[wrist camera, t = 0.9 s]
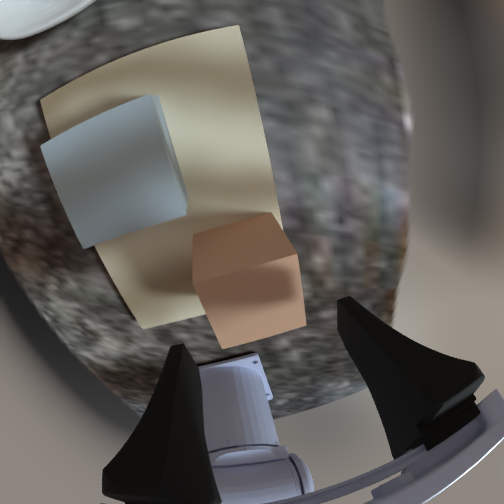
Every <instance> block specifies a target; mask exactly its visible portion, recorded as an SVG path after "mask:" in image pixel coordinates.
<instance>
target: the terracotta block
mask: <svg viewBox="0 0 504 504" xmlns="http://www.w3.org/2000/svg"><path fill="white" fill-rule="evenodd" d="M192 283H193V286H194V288H195V290H196V293H197V295H198V297H199V299H200V302H201V304H202V306H203V308H204V311H205V313H206V315H207V317H208V320H209V322H210V324H211V326H212V328H213V330H214V333H215V335H216V337H217V339H218V341H219V343H220V345H221V347H222V349H225V348H229V347H233V346H237V345H240V344H244V343H248V342H252V341H255V340H259V339H263V338H266V337H270V336H273V335H276V334H280V333H283V332H287V331H290V330H293V329H296V328H300V327H303V326H306V317H305V308H304V300H303V292H302V285H301V277H300V270H299V263H298V256H297V253H296V251H295V249H294V248H293V246H292V244H291V243H290V241H289V240H288V238H287V236H286V235H285V233H284V231H283V230H282V228H281V227H280V225H279V223H278V222H277V220H276V219H275V217H274V215H273V214H272V212H271V213H268V214H264V215H260V216H256V217H253V218H249V219H245V220H242V221H238V222H234V223H231V224H227V225H224V226H220V227H217V228H213V229H210V230H206V231H203V232H199V233H196V234H193V256H192Z"/></svg>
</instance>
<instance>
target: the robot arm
mask: <svg viewBox="0 0 504 504" xmlns="http://www.w3.org/2000/svg"><path fill="white" fill-rule="evenodd" d="M337 329H338V332H339V334H340V336H341V339H342V341H343V343H344V345H345V348H346V349H347V351H348V353H349V355H350V356H351V358H352V360H353V361H354V363H355V365H356V367H357V368H358V370H359V372H360V373H361V375H362V377H363V379H364V380H365V382H366V384H367V386H368V388H369V390H370V392H371V395H372V397H373V400H374V402H375V405H376V407H377V410H378V413H379V415H380V418H381V421H382V424H383V426H384V429H385V432H386V436H387V439H388V442H389V445H390V449H391V453H392V456H393V458H394V460H393V461H391V462H389V463H387V464H385V465H382V466H380V467H378V468H376V469H374V470H371V471H369V472H367V473H364V474H362V475H360V476H357V477H355V478H352V479H349V480H347V481H344V482H341V483H338V484H336V485H333V486H330V487H327V488H324V489H320V490H317V491H314V485H313V480H312V477H311V473H310V471H309V469H308V467H307V465H306V463H305V462H304V461H303V460H302V459H301V458H299V457H298V456H297V455H296V454H293V453H290V454H288V451H287V448H286V446H280V445H279V441H278V438H277V434H276V430H275V426H274V423H273V419H272V415H271V411H270V407H269V404H268V400H271V399H272V398H273V395H272V392H271V390H270V387H269V384H268V381H267V378H266V375H265V373H264V370H263V367H262V364H261V361H260V358H259V355H258V354H256V353H252V354H249V355H245V356H241V357H237V358H233V359H229V360H225V361H220V362H216V363H212V364H207V365H203V366H197V364H196V363H195V361H194V360H193V358H192V357H191V355H190V353H189V352H188V350H187V348H186V347H185V345H184V344H179V345H174V346H171V347H170V350H169V353H168V356H167V359H166V361H165V364H164V367H163V370H162V373H161V375H160V378H159V381H158V383H157V386H156V388H155V391H154V393H153V395H152V397H151V400H150V402H149V404H148V406H147V408H146V410H145V412H144V414H143V416H142V418H141V420H140V422H139V423H138V425H137V426H136V428H135V430H134V431H133V433H132V434H131V436H130V437H129V439H128V440H127V442H126V443H125V444H124V446H123V447H122V448H121V450H120V451H119V452H118V454H117V455H116V456H115V457H114V458H113V459H112V460H111V461H110V462H109V464H108V465H107V466H106V467H105V468H104V469H103V473H102V493H103V494H104V495H105V496H107V497H110V498H113V499H116V500H119V501H122V502H125V504H320V503H324V502H327V501H330V500H333V499H336V498H339V497H342V496H345V495H347V494H350V493H353V492H355V491H358V490H360V489H363V488H365V487H367V486H370V485H372V484H375V483H376V482H379V481H381V480H383V479H385V478H388V477H390V476H391V475H394V474H396V473H398V472H400V471H402V470H403V471H402V472H401V475H400V476H398V477H396V478H394V479H392V480H390V481H388V482H386V483H384V484H382V485H380V486H379V487H377V488H375V489H373V490H372V491H371V493H372V495H373V500H371V501H368V502H365V503H363V504H424V503H425V502H427V501H429V500H430V499H432V498H433V497H434V496H436V495H437V494H439V493H440V492H442V491H443V490H445V489H446V488H447V487H449V486H450V485H451V484H453V483H454V482H455V481H457V480H458V479H459V478H460V477H462V476H463V475H464V474H465V473H467V472H468V471H469V470H470V469H471V468H473V467H474V466H475V465H476V464H477V463H478V462H480V461H481V460H482V459H483V458H484V457H485V456H486V455H487V454H488V453H489V452H490V451H491V450H492V449H494V447H496V446H497V445H498V444H499V443H500V442H501V441H502V440H503V439H504V399H503V398H502V396H501V395H500V393H499V392H498V390H497V389H496V390H494V391H493V392H492V393H490V394H489V395H488V396H487V397H486V398H485V399H483V400H482V401H481V402H480V403H479V404H478V405H476V404H475V402H474V401H475V400H476V397H475V396H474V392H475V391H476V390H477V389H478V387H479V386H480V385H481V384H482V382H483V381H484V378H485V376H484V374H483V373H482V372H481V370H480V369H479V367H478V366H477V365H476V364H475V363H474V362H470V361H465V360H461V359H457V358H454V357H451V356H448V355H445V354H442V353H439V352H437V351H435V350H432V349H430V348H427V347H425V346H423V345H421V344H419V343H417V342H415V341H413V340H411V339H409V338H408V337H406V336H404V335H402V334H401V333H399V332H398V331H396V330H395V329H393V328H392V327H390V326H389V325H387V324H386V323H384V322H383V321H382V320H380V319H379V318H377V317H376V316H375V315H373V314H372V313H371V312H369V311H368V310H367V309H366V308H364V307H363V306H362V305H361V304H359V303H358V302H357V301H356V300H354V299H353V298H352V297H350V296H348V297H345V298H342V299H339V300H337ZM100 504H104V503H100Z"/></svg>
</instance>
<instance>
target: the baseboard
mask: <svg viewBox="0 0 504 504" xmlns="http://www.w3.org/2000/svg"><path fill="white" fill-rule="evenodd" d="M40 102H41V106H42V110H43V113H44V117H45V121H46V124H47V128H48V131H49V134H50V138H51V140H49V141H47V142H46V143H44V144H42V145H41V146H40V147H41V150H42V153H43V156H44V159H45V162H46V165H47V167H48V170H49V173H50V176H51V178H52V181H53V183H54V186H55V188H56V191H57V193H58V196H59V198H60V201H61V203H62V205H63V208H64V210H65V212H66V214H67V217H68V219H69V221H70V223H71V225H72V227H73V229H74V231H75V234H76V236H77V238H78V240H79V242H80V244H81V246H82V247H83V249H85V248H88V247H91V246H95V248H96V250H97V252H98V254H99V256H100V258H101V260H102V261H103V263H104V265H105V267H106V269H107V271H108V273H109V274H110V276H111V278H112V280H113V281H114V283H115V285H116V287H117V288H118V290H119V292H120V294H121V295H122V297H123V299H124V300H125V302H126V304H127V305H128V307H129V308H130V310H131V312H132V313H133V315H134V316H135V318H136V320H137V321H138V323H139V324H140V326H141V327H142V329H146V328H150V327H154V326H159V325H163V324H167V323H172V322H176V321H180V320H184V319H188V318H192V317H196V316H200V315H204V314H206V313H205V311H204V308H203V306H202V304H201V302H200V299H199V297H198V295H197V293H196V290H195V288H194V286H193V283H192V256H193V234H196V233H199V232H203V231H206V230H210V229H213V228H217V227H220V226H224V225H227V224H231V223H234V222H238V221H242V220H245V219H249V218H253V217H256V216H260V215H264V214H268V213H271V212H272V214H273V215H274V217H275V219H276V220H277V222H278V223H279V225H280V227H281V228H282V230H283V227H282V222H281V216H280V211H279V205H278V200H277V195H276V190H275V184H274V179H273V174H272V169H271V164H270V159H269V154H268V149H267V144H266V140H265V135H264V130H263V126H262V121H261V116H260V112H259V107H258V103H257V98H256V94H255V90H254V85H253V81H252V77H251V72H250V68H249V64H248V60H247V56H246V52H245V48H244V44H243V40H242V36H241V32H240V28H239V25H237V26H231V27H225V28H220V29H215V30H210V31H205V32H201V33H197V34H193V35H189V36H185V37H181V38H178V39H174V40H171V41H167V42H164V43H161V44H158V45H155V46H152V47H149V48H146V49H143V50H140V51H138V52H135V53H132V54H130V55H127V56H125V57H122V58H120V59H117V60H115V61H113V62H110V63H108V64H106V65H104V66H101V67H99V68H97V69H95V70H93V71H91V72H89V73H87V74H85V75H83V76H81V77H79V78H77V79H75V80H73V81H72V82H70V83H68V84H66V85H64V86H63V87H61V88H59V89H57V90H56V91H54V92H52V93H51V94H49V95H47V96H46V97H44V98H43V99H41V100H40Z"/></svg>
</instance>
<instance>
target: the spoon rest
mask: <svg viewBox="0 0 504 504" xmlns="http://www.w3.org/2000/svg"><path fill="white" fill-rule="evenodd" d="M95 1H96V0H0V39H2V40H17V39H23V38H27V37H30V36H33V35H35V34H38V33H41V32H43V31H45V30H48V29H50V28H52V27H54V26H56V25H58V24H60V23H62V22H64V21H66V20H68V19H69V18H71V17H73V16H74V15H76V14H78V13H79V12H81V11H82V10H84V9H85V8H87V7H88V6H90V5H91V4H92V3H94V2H95Z"/></svg>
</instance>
